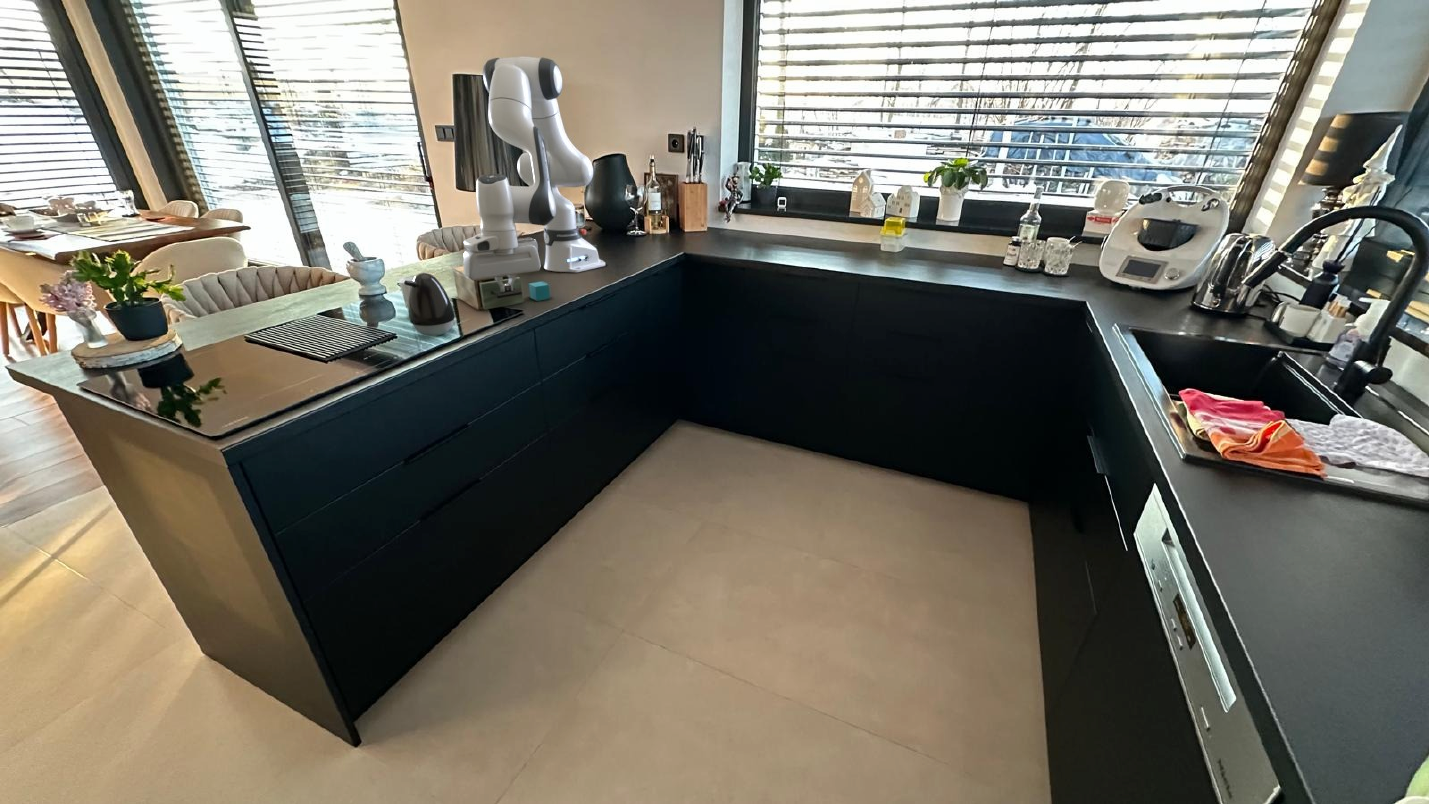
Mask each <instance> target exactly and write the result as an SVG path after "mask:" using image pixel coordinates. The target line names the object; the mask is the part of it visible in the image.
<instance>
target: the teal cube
mask: <svg viewBox="0 0 1429 804" xmlns="http://www.w3.org/2000/svg"><path fill="white" fill-rule="evenodd" d="M528 289H529V298H531V299H532V300H534V301H535V302H539V301H545V300H550V299H551V293H550V284H549V283H547V282H544V281H537V282H531V283H528Z"/></svg>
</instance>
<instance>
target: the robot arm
mask: <svg viewBox="0 0 1429 804" xmlns="http://www.w3.org/2000/svg"><path fill="white" fill-rule="evenodd" d="M482 78H483V79H482V80H483V84H484V87H485V89H486V90H487V93H489V94H488V95H489V96H488V121H489V122H488V123H489V125H490V127H491V128H492V131H493V132H494V134H495V135H496V136H497V137H499V138H500V139H501V140H503V141H504V142H505V143H507V144H510V145H511V146H513V147H516V148H519V149H520V150H523V151H525V152H524V153H522V154H521V155H520V156H519V158H518V160H517V163H516V164H517V166H516V167H517V168H516V169H517V172H518V175H519V177H520V179H521V180H522V182H524V183H525V184H527V185H528V186H521V185H510V182H509V179H508V177H507V176H506V175H504V174H502V173H485V174H482V175H480V176H479V177H477V179H476V185H475V189H476V190H475V192H476V193H475V194H476V206H477V212H478V215H479V217H480V231H481V232H479V233H478V234H476V235H474V236H471V237H469V238H467V239H465V240H464V241H463V246H464V248H465V249H466V250H465V251H464V253H463V256H462V257H463V260H462V261H463V266H464V272H465V275H466V276H467V277H468V278H469V279H471V280H478V279H485V278H492V277H495V280H496V281H497V283H498V284H499V285H500V290H501V292H507V291H513V283H514V281H515V279H516V276H515V274H517V275H519V274H527V273H533V272H539V271H540V270H541V267H542V266H541V260H540V256H539V255H540V254H539V252H538V251H539V247H538V246H539V245H538V242H537V240H536V239H534V238H532V237H531V236H530V237H529V236H528V237H518V234H517V233H518V232H517V226H516V224H530V225H535V226H543V239H544V244H545V256H544V257H545V258H544V264H543V268H544V269H545V270H546V271H552V272H560V273H562V272H563V273H564V272H565V273H580V272H581V273H582V272H585V271H589V270H594V269H597V268H602V267H606V262H605V261H604V260H603V259H601V258H600V256H599V251H598V245H597V244H591V243H590V242H588V240H586V239H584V238H583V236H586V235H587V229H585V228H579V227H577V217H576V215H577V214H576V207H575V205H574V204H573V202H572V201H571V200H569V199H568V198H566V197H564V196H563V195H562V194H561V193H560V190H559V188H581V187H586V186H589V185H590V183H591V182H592V180H593V178H594V166H593V164H592V162H591V160H590V158H589V157H588V156H587V155H585V154H583V152H581V151H580V150H579V149H578V148H577V147H575V145H574V144H573V143H572V141H571V140H570V139H569V137H568V135H567V133H566V130H565V127H564V124H563V120H562V116H561V112H560V108H559V102H558V99H557V98H559V96H560V95H561V93H562V91H563V90H562V89H563V76H562V73H561V70H560V67H559V66H558V64H557V63H556V62H555V61H554V60H553V59H550V58H547V57H541V58H539V57H533V56H521V55H520V56H514V57H503V58H500V57H494V58H491V59H488V60H486V62H485V64H484V65H483V68H482ZM558 187H559V188H558ZM506 275H507V276H508V277H509V281H508V284H503V283H502V281H501V280H503V277H502V276H506Z"/></svg>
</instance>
